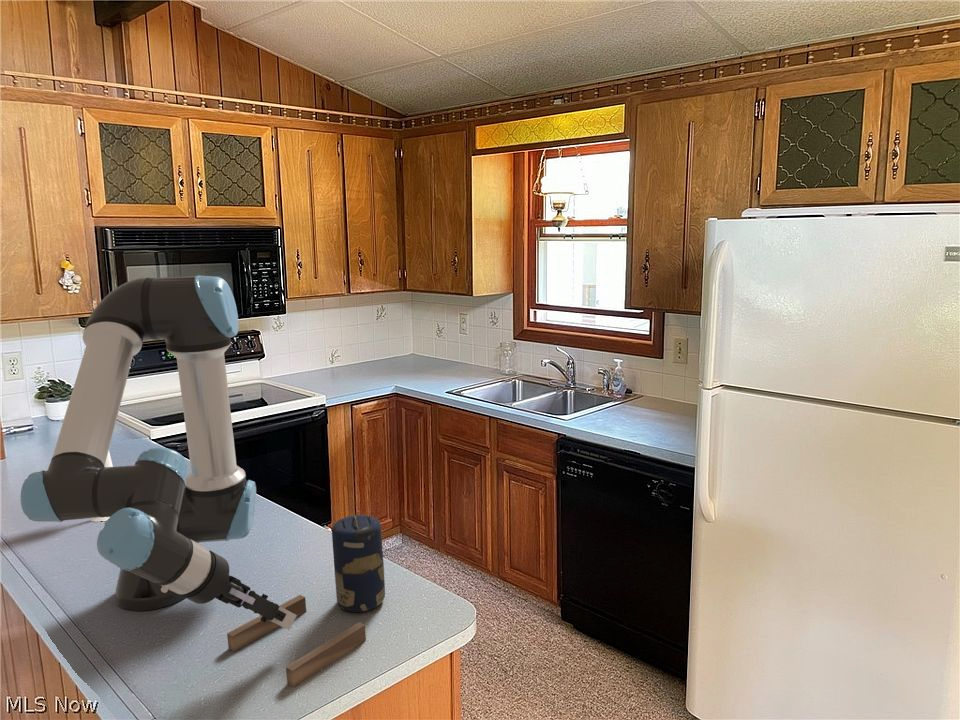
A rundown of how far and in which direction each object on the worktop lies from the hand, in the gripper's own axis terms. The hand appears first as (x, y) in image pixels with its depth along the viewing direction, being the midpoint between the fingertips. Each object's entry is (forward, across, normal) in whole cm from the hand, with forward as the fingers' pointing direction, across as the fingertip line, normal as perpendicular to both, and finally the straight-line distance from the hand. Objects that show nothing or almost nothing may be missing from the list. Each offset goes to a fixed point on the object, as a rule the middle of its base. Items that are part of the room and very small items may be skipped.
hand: (290, 621), depth 123 cm
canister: (+16, -1, +9) cm, 18 cm away
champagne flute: (+10, -88, +3) cm, 89 cm away
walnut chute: (+4, 0, -3) cm, 5 cm away
